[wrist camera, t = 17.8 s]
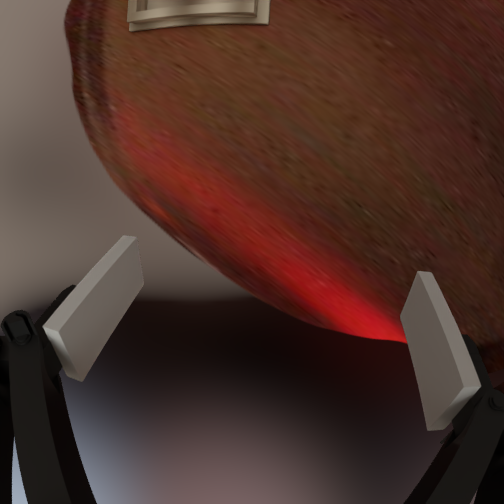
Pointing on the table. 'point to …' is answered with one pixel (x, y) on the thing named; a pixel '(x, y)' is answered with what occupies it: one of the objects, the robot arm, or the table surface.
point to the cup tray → (195, 13)
